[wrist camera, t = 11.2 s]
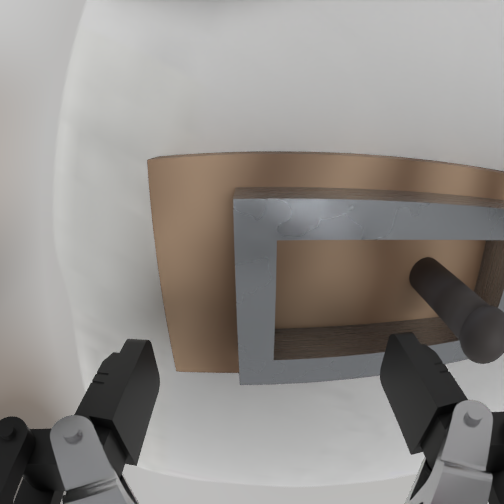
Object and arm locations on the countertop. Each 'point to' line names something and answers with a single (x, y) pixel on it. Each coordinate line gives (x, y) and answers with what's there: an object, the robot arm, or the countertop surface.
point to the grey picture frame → (346, 228)
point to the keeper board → (312, 253)
